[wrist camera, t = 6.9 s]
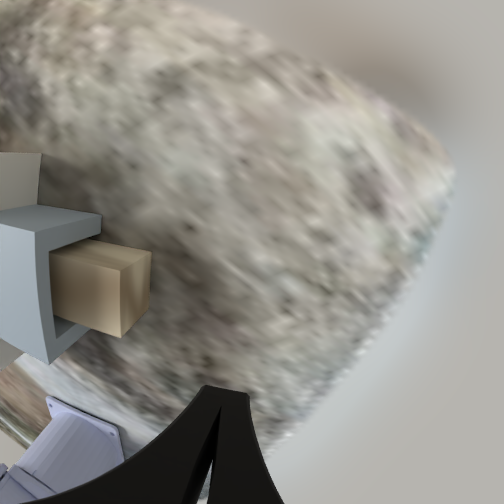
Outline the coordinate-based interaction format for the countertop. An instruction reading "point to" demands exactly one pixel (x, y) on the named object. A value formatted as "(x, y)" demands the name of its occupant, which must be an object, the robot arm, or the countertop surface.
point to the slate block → (37, 277)
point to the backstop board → (12, 196)
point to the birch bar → (100, 284)
